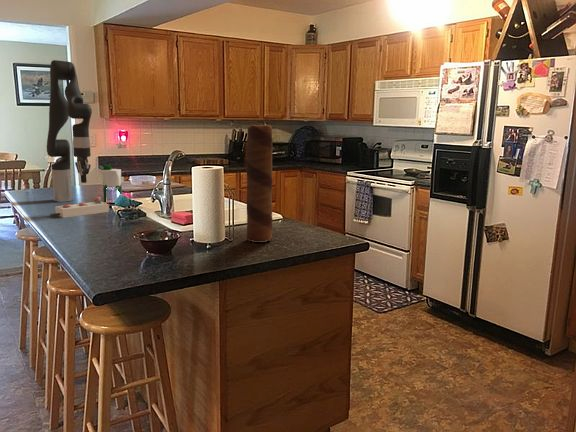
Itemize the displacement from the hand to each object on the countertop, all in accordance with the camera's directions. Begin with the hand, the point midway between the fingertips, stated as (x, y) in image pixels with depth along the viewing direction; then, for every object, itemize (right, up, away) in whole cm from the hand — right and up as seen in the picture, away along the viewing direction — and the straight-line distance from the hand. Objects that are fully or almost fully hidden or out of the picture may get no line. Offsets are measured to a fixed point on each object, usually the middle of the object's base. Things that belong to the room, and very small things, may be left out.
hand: (83, 182), depth 231 cm
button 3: (+5, -9, +5) cm, 12 cm away
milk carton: (+3, -9, +30) cm, 32 cm away
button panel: (-2, -15, 0) cm, 15 cm away
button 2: (-1, -12, 0) cm, 13 cm away
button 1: (-6, -13, -5) cm, 15 cm away
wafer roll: (+87, -26, -42) cm, 100 cm away
